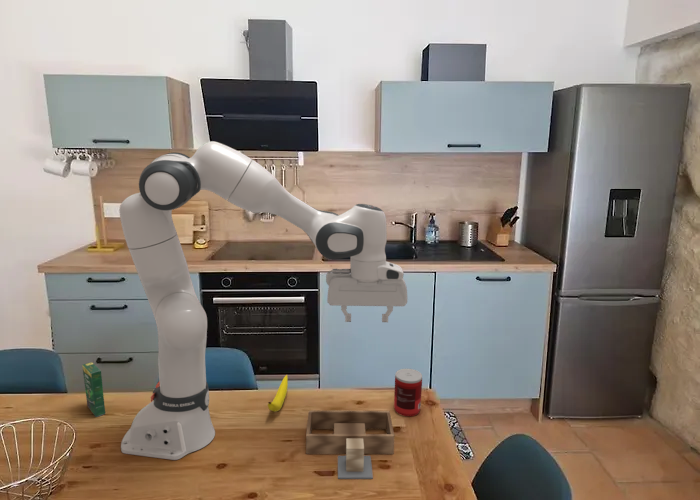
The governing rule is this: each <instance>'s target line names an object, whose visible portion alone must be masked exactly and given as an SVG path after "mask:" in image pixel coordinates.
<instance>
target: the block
mask: <svg viewBox="0 0 700 500" xmlns="http://www.w3.org/2000/svg"><path fill="white" fill-rule="evenodd" d="M345 456H346V472H363V467H364V456H365V454H364V442H363V438H346V454H345Z"/></svg>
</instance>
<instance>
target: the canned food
mask: <svg viewBox="0 0 700 500" xmlns="http://www.w3.org/2000/svg"><path fill="white" fill-rule="evenodd" d="M394 375H395V376H394V378H395V379H394V394H393V395H394V396H393V398H394V399H393V407H394V408H393V409H394V410H395V413H397V414H398V415H400V416H403V417H415V416H417V415H418V414H419V413H420V411H421V408H422V407H421V406H422V390H423V389H422V388H423V374H422V373H421V372H420V371H419V370H417V369H415V368H414V369H412V368H401V369H398V370H397V371H396V372H395V374H394Z"/></svg>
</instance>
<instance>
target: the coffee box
mask: <svg viewBox="0 0 700 500" xmlns="http://www.w3.org/2000/svg"><path fill="white" fill-rule="evenodd" d="M81 367H82V374H83V383H84V391H85V397H86V405H87V409H89V410H90V411H91V413H92V414H93V416H94V417H96V418H97V417H101V416H103V415H106V408H105V399H104V398H105V397H104V396H105V395H104V389H103V388H104V387H103V376H102V370H101V369H100V368H99V367H98V366H97V365H96V364H95V363H93V362H91V361H90V362H86V363H84V364H82V365H81Z"/></svg>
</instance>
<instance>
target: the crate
mask: <svg viewBox="0 0 700 500" xmlns="http://www.w3.org/2000/svg"><path fill="white" fill-rule="evenodd" d="M390 411H391V410H308V415H307V424H306V434H305V435H306V437H305V439H306V440H305V450H306V451H305V455H346V438H363V442H364V455H394V450H395V433H394V428H393V423H392V418H391V412H390ZM312 430H333V433H312ZM366 430H386V431H385V432H386V433H380V434H379V433H366Z"/></svg>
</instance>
